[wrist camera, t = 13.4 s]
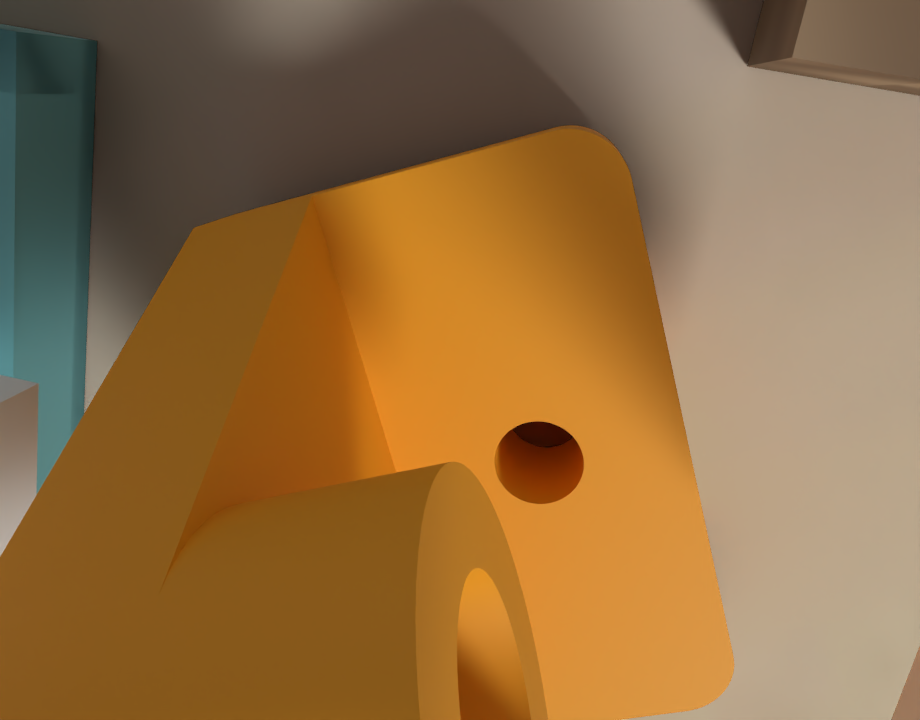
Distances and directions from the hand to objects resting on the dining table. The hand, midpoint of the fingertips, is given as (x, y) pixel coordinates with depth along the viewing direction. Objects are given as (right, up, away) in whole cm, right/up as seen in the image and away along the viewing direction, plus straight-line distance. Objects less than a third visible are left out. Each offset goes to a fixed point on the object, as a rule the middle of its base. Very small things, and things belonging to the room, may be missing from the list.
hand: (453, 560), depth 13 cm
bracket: (+1, +2, +6) cm, 6 cm away
